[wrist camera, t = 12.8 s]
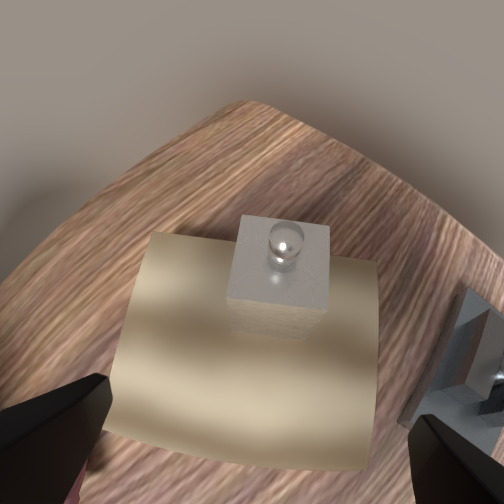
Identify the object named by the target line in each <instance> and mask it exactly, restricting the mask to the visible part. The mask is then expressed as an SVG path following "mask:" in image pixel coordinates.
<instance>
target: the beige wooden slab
mask: <svg viewBox="0 0 504 504" xmlns="http://www.w3.org/2000/svg"><path fill="white" fill-rule="evenodd" d="M235 247H236V242H232V241H225V240H217V239H209V238H202V237H194V236H186V235H178V234H171V233H163V232H155V231H153V232H152V235H151V238H150V241H149V243H148V246H147V249H146V252H145V255H144V258H143V261H142V264H141V267H140V270H139V273H138V276H137V279H136V283H135V286H134V289H133V292H132V296H131V299H130V302H129V306H128V309H127V313H126V316H125V320H124V323H123V327H122V330H121V334H120V338H119V342H118V346H117V349H116V353H115V357H114V362H113V366H112V370H111V374H110V384H111V390H112V395H113V402H112V405H111V408H110V410H109V412H108V415H107V417H106V420H105V422H104V425H103V427H102V429H103V430H106V431H109V432H111V433H114V434H117V435H120V436H123V437H126V438H129V439H132V440H135V441H139V442H142V443H145V444H149V445H152V446H156V447H159V448H163V449H167V450H171V451H175V452H179V453H183V454H187V455H192V456H196V457H201V458H206V459H211V460H217V461H223V462H229V463H235V464H242V465H249V466H258V467H267V468H277V469H290V470H310V471H357V470H368V464H369V457H370V450H371V443H372V434H373V425H374V415H375V404H376V391H377V374H378V348H379V296H378V269H377V261H372V260H364V259H357V258H350V257H343V256H336V255H330V262H329V295H328V311H327V312H326V313H325V315H324V316H323V317H322V319H321V320H320V322H319V323H318V324H317V326H316V327H315V328H314V330H313V331H312V333H311V334H310V335H309V337H308V338H307V339H306V341H302V340H293V339H284V338H276V337H268V336H260V335H253V334H246V333H239V332H232V329H231V324H230V318H229V312H228V306H227V300H226V294H227V289H228V284H229V279H230V273H231V268H232V263H233V258H234V253H235Z"/></svg>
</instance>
